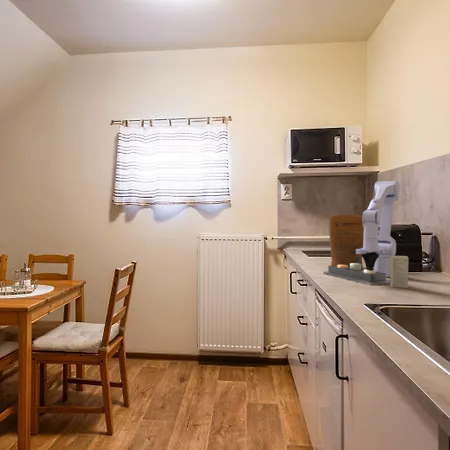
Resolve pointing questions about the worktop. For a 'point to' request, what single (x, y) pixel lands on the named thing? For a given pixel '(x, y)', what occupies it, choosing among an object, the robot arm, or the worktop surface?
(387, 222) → the robot arm
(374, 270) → the ivory button
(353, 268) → the sage button
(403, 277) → the skincare box
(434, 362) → the worktop surface
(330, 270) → the button panel
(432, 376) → the worktop surface
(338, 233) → the pancake mix bag
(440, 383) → the worktop surface
